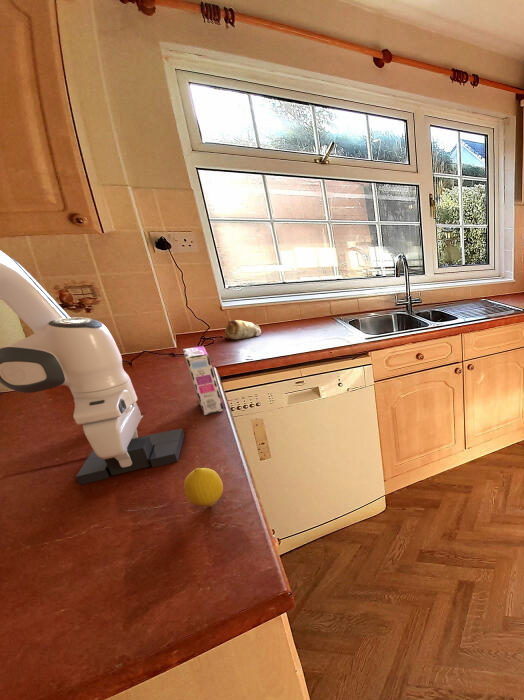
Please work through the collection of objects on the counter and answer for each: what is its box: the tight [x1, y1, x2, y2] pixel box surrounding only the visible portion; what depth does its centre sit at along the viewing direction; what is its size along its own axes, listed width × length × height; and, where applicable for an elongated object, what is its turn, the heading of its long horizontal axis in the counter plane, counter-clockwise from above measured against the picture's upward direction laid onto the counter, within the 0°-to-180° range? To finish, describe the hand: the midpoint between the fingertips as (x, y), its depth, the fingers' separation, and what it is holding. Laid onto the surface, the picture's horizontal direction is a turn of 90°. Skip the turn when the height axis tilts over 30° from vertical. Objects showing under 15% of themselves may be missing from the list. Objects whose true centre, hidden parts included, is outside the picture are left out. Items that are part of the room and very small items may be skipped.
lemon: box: [183, 467, 224, 507], centre depth 76 cm, size 6×6×8 cm
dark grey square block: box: [105, 435, 154, 476], centre depth 90 cm, size 6×6×4 cm
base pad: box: [75, 427, 185, 486], centre depth 93 cm, size 16×14×2 cm
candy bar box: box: [182, 345, 225, 416], centre depth 115 cm, size 11×5×16 cm, turn 40°
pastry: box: [224, 319, 262, 340], centre depth 187 cm, size 14×12×8 cm
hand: (131, 456), depth 90 cm, fingers closed on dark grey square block, 6 cm apart
